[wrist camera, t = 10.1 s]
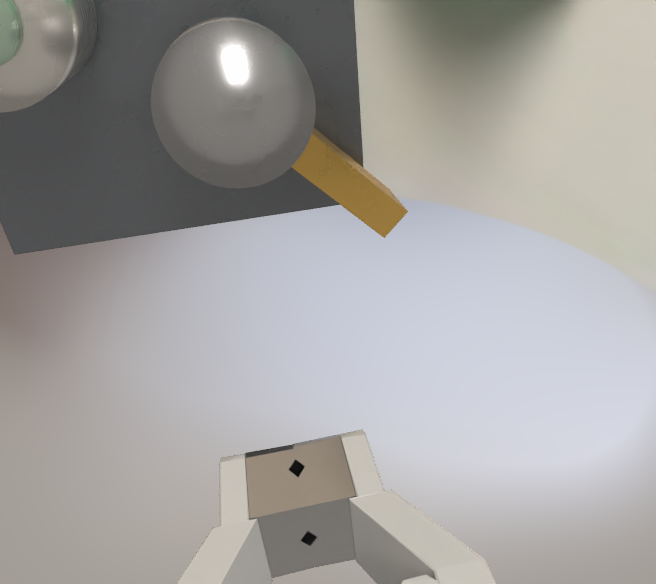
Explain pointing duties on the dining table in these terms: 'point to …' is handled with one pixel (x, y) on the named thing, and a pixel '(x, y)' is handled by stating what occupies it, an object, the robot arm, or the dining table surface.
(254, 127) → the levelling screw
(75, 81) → the base
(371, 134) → the dining table surface
